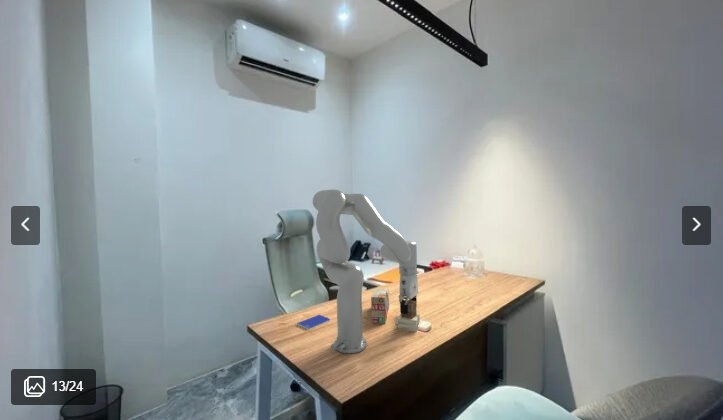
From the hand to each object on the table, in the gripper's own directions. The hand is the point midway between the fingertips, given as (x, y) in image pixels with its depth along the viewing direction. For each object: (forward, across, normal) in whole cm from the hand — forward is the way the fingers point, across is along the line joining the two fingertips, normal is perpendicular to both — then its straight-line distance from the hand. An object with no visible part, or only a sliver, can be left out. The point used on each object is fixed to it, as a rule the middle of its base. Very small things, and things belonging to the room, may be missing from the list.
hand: (408, 309), depth 129 cm
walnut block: (+3, 0, 0) cm, 3 cm away
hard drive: (+8, -17, +39) cm, 43 cm away
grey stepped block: (+8, 0, 0) cm, 8 cm away
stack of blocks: (+8, +6, +17) cm, 20 cm away
